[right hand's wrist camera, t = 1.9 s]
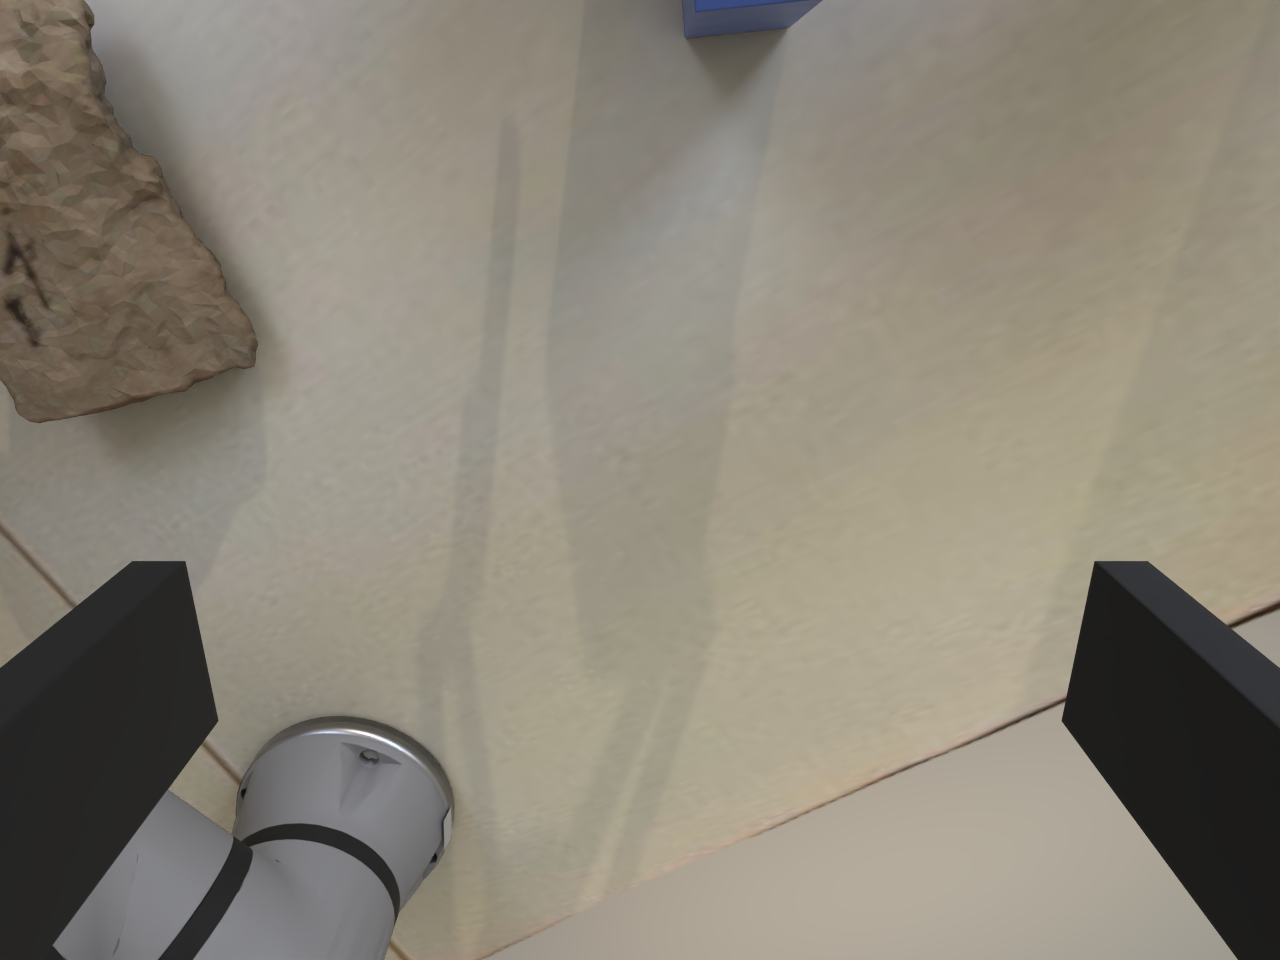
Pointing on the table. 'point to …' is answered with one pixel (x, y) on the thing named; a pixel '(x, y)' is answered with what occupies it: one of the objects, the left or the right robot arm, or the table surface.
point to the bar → (741, 15)
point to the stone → (93, 240)
